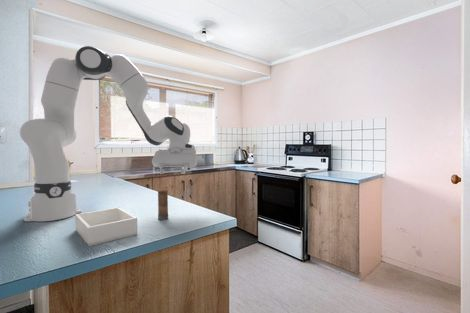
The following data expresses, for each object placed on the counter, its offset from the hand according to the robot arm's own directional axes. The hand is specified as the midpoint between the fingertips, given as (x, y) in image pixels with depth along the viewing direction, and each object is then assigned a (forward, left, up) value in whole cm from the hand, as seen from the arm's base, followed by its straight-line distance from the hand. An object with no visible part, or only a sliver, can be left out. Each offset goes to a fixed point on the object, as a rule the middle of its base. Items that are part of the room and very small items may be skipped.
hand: (171, 173), depth 108 cm
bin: (+10, -30, -17) cm, 35 cm away
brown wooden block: (+9, -9, -17) cm, 21 cm away
